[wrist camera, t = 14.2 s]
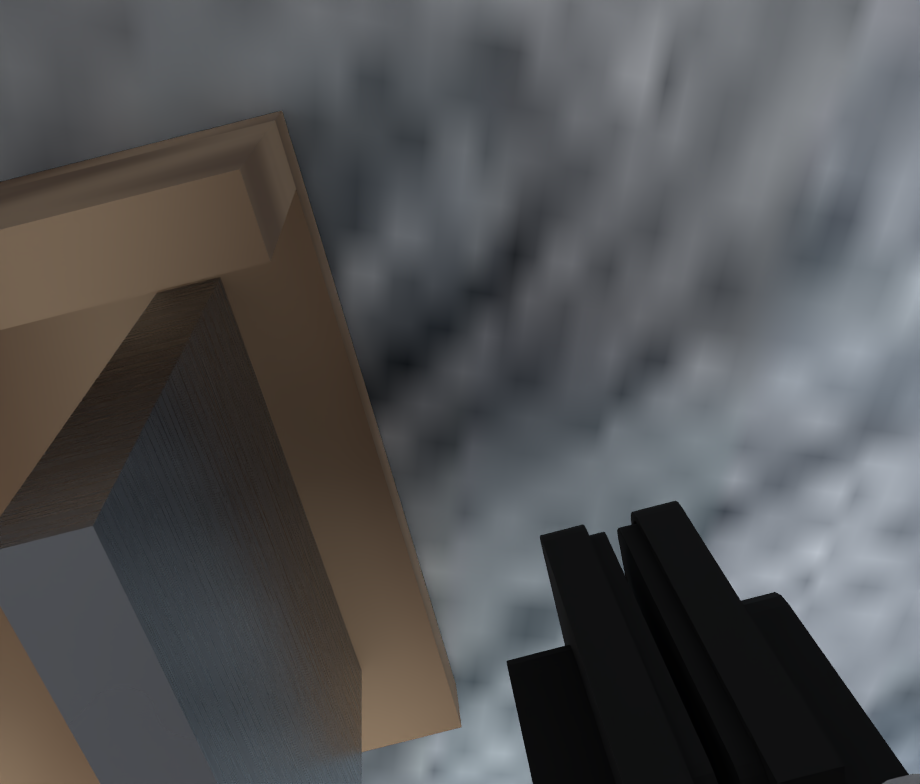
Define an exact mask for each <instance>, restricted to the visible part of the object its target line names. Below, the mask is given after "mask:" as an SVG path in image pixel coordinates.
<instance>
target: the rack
mask: <svg viewBox="0 0 920 784" xmlns="http://www.w3.org/2000/svg"><path fill="white" fill-rule="evenodd" d="M218 277H221V280H222V283H223V285H224V288H225V291H226V294H227V297H228V299H229V302H230V305H231V308H232V311H233V313H234V316H235V319H236V322H237V324H238V327H239V330H240V333H241V336H242V338H243V341H244V344H245V347H246V349H247V352H248V355H249V358H250V361H251V363H252V366H253V369H254V372H255V375H256V377H257V380H258V383H259V386H260V388H261V391H262V394H263V397H264V400H265V402H266V405H267V408H268V411H269V413H270V416H271V419H272V422H273V425H274V427H275V430H276V433H277V436H278V439H279V441H280V444H281V447H282V450H283V452H284V455H285V458H286V461H287V464H288V466H289V469H290V472H291V475H292V477H293V480H294V483H295V486H296V489H297V491H298V494H299V497H300V500H301V503H302V505H303V508H304V511H305V514H306V516H307V519H308V522H309V525H310V528H311V530H312V533H313V536H314V539H315V542H316V544H317V547H318V550H319V553H320V555H321V558H322V561H323V564H324V567H325V569H326V572H327V575H328V578H329V580H330V583H331V586H332V589H333V592H334V594H335V597H336V600H337V603H338V606H339V608H340V611H341V614H342V617H343V619H344V622H345V625H346V628H347V631H348V633H349V636H350V639H351V642H352V644H353V647H354V650H355V653H356V656H357V658H358V661H359V664H360V667H361V670H362V752H364V751H368V750H372V749H376V748H380V747H384V746H388V745H392V744H396V743H400V742H404V741H408V740H412V739H416V738H420V737H424V736H428V735H432V734H436V733H440V732H444V731H448V730H452V729H456V728H460V727H462V726H461V719H460V712H459V704H458V697H457V690H456V684H455V680H454V677H453V674H452V670H451V667H450V664H449V660H448V657H447V654H446V651H445V647H444V644H443V641H442V637H441V634H440V631H439V627H438V624H437V621H436V618H435V614H434V611H433V608H432V604H431V601H430V598H429V594H428V591H427V588H426V584H425V581H424V578H423V575H422V571H421V568H420V565H419V561H418V558H417V555H416V551H415V548H414V545H413V542H412V538H411V535H410V532H409V528H408V525H407V522H406V518H405V515H404V512H403V509H402V505H401V502H400V499H399V495H398V492H397V489H396V485H395V482H394V479H393V476H392V472H391V469H390V466H389V462H388V459H387V456H386V452H385V449H384V446H383V442H382V439H381V436H380V433H379V429H378V426H377V423H376V419H375V416H374V413H373V409H372V406H371V403H370V400H369V396H368V393H367V390H366V386H365V383H364V380H363V376H362V373H361V370H360V367H359V363H358V360H357V357H356V353H355V350H354V347H353V343H352V340H351V337H350V333H349V330H348V327H347V324H346V320H345V317H344V314H343V310H342V307H341V304H340V300H339V297H338V294H337V291H336V287H335V284H334V281H333V277H332V274H331V271H330V267H329V264H328V261H327V258H326V254H325V251H324V248H323V244H322V241H321V238H320V234H319V231H318V228H317V225H316V221H315V218H314V215H313V211H312V208H311V205H310V201H309V198H308V195H307V191H306V188H305V185H304V182H303V178H302V175H301V172H300V168H299V165H298V162H297V158H296V155H295V152H294V149H293V145H292V142H291V139H290V135H289V132H288V129H287V125H286V122H285V119H284V116H283V112H282V111H279V112H275V113H271V114H267V115H263V116H259V117H255V118H251V119H247V120H243V121H239V122H235V123H231V124H227V125H223V126H219V127H215V128H211V129H207V130H203V131H199V132H196V133H192V134H188V135H184V136H180V137H176V138H172V139H168V140H164V141H160V142H156V143H152V144H148V145H144V146H140V147H136V148H132V149H128V150H124V151H120V152H116V153H112V154H109V155H105V156H101V157H97V158H93V159H89V160H85V161H81V162H77V163H73V164H69V165H65V166H61V167H57V168H53V169H49V170H45V171H41V172H37V173H33V174H29V175H25V176H22V177H18V178H14V179H10V180H6V181H2V182H0V516H1V514H2V513H3V512H4V510H5V509H6V507H7V506H8V504H9V503H10V502H11V500H12V499H13V497H14V496H15V495H16V493H17V492H18V490H19V489H20V487H21V486H22V485H23V483H24V482H25V480H26V479H27V477H28V476H29V475H30V473H31V472H32V470H33V469H34V467H35V466H36V465H37V463H38V462H39V460H40V459H41V457H42V456H43V455H44V453H45V452H46V450H47V449H48V447H49V446H50V445H51V443H52V442H53V440H54V439H55V437H56V436H57V435H58V433H59V432H60V430H61V429H62V427H63V426H64V425H65V423H66V422H67V420H68V419H69V417H70V416H71V415H72V413H73V412H74V410H75V409H76V407H77V406H78V405H79V403H80V402H81V400H82V399H83V397H84V396H85V395H86V393H87V392H88V390H89V389H90V388H91V386H92V385H93V383H94V382H95V380H96V379H97V378H98V376H99V375H100V373H101V372H102V370H103V369H104V368H105V366H106V365H107V363H108V362H109V360H110V359H111V358H112V356H113V355H114V353H115V352H116V350H117V349H118V348H119V346H120V345H121V343H122V342H123V340H124V339H125V338H126V336H127V335H128V333H129V332H130V330H131V329H132V328H133V326H134V325H135V323H136V322H137V320H138V319H139V318H140V316H141V315H142V313H143V312H144V310H145V309H146V308H147V306H148V305H149V303H150V302H151V300H152V299H153V298H154V296H155V295H156V293H158V292H162V291H166V290H170V289H174V288H178V287H182V286H186V285H190V284H194V283H198V282H202V281H206V280H210V279H214V278H218ZM0 784H100V782H99V780H98V778H97V777H96V775H95V773H94V771H93V770H92V768H91V766H90V764H89V763H88V761H87V759H86V757H85V755H84V754H83V752H82V750H81V748H80V747H79V745H78V743H77V741H76V740H75V738H74V736H73V734H72V732H71V731H70V729H69V727H68V725H67V724H66V722H65V720H64V718H63V716H62V715H61V713H60V711H59V709H58V708H57V706H56V704H55V702H54V701H53V699H52V697H51V695H50V693H49V692H48V690H47V688H46V686H45V685H44V683H43V681H42V679H41V677H40V676H39V674H38V672H37V670H36V669H35V667H34V665H33V663H32V662H31V660H30V658H29V656H28V654H27V653H26V651H25V649H24V647H23V646H22V644H21V642H20V640H19V638H18V637H17V635H16V633H15V631H14V630H13V628H12V626H11V624H10V623H9V621H8V619H7V617H6V615H5V614H4V612H3V610H2V608H1V607H0Z"/></svg>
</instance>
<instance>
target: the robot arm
mask: <svg viewBox="0 0 920 784" xmlns="http://www.w3.org/2000/svg"><path fill="white" fill-rule="evenodd" d="M631 524H632V525H628V526H625V527H621V528H618V530H617V532H618V540H619V545H620V550H621V556H622V561H623V566H624V571H625V575H624V573H623V570H622V568H621V566H620V564H619V562H618V559H617V557H616V555H615V553H614V551H613V548H612V546H611V544H610V542H609V540H608V537H607V535H606V534H605V532H601V533H597V534H593V535H589V534H588V532H587V530H586V528H585V526H584V525H579V526H575V527H571V528H568V529H564V530H560V531H556V532H552V533H548V534H544V535H540V540H541V545H542V549H543V554H544V558H545V562H546V566H547V571H548V575H549V579H550V583H551V588H552V592H553V596H554V600H555V605H556V609H557V613H558V617H559V622H560V626H561V630H562V634H563V639H564V643H565V646H563V647H559V648H555V649H551V650H547V651H543V652H539V653H535V654H531V655H528V656H524V657H520V658H516V659H512V660H508V661H507V666H508V671H509V676H510V680H511V685H512V689H513V694H514V699H515V703H516V708H517V712H518V717H519V722H520V726H521V731H522V735H523V740H524V745H525V749H526V754H527V758H528V763H529V768H530V772H531V777H532V781H533V784H920V774H910V775H909V774H908V773H907V771H906V770H905V768H904V767H903V766H902V764H901V763H900V761H899V760H898V759H897V757H896V756H895V754H894V753H893V751H892V750H891V749H890V747H889V746H888V744H887V743H886V741H885V740H884V739H883V737H882V736H881V734H880V733H879V732H878V730H877V729H876V727H875V726H874V724H873V723H872V722H871V720H870V719H869V717H868V716H867V715H866V713H865V712H864V710H863V709H862V707H861V706H860V705H859V703H858V702H857V700H856V699H855V698H854V696H853V695H852V693H851V692H850V690H849V689H848V688H847V686H846V685H845V683H844V682H843V681H842V679H841V678H840V676H839V675H838V673H837V672H836V671H835V669H834V668H833V666H832V665H831V663H830V662H829V661H828V659H827V658H826V656H825V655H824V654H823V652H822V651H821V649H820V648H819V646H818V645H817V644H816V642H815V641H814V639H813V638H812V637H811V635H810V634H809V632H808V631H807V629H806V628H805V627H804V625H803V624H802V622H801V621H800V620H799V618H798V617H797V615H796V614H795V612H794V611H793V610H792V608H791V607H790V605H789V604H788V603H787V602H786V600H785V599H784V598H783V597H782V596H781V595H780V594H778V593H776V592H773V593H769V594H765V595H762V596H758V597H754V598H750V599H746V600H742V601H740V599H739V597H738V596H737V594H736V593H735V591H734V589H733V588H732V586H731V585H730V583H729V581H728V580H727V578H726V577H725V575H724V574H723V572H722V570H721V569H720V567H719V566H718V564H717V562H716V561H715V559H714V558H713V556H712V554H711V553H710V551H709V550H708V548H707V546H706V545H705V543H704V542H703V540H702V539H701V537H700V535H699V534H698V532H697V531H696V529H695V527H694V526H693V524H692V523H691V521H690V519H689V518H688V516H687V515H686V513H685V512H684V510H683V508H682V507H681V505H680V504H679V503H678V502H677V501H673V502H669V503H665V504H661V505H657V506H653V507H649V508H645V509H641V510H638V511H634V512H632V513H631Z"/></svg>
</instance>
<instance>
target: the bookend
mask: <svg viewBox="0 0 920 784" xmlns="http://www.w3.org/2000/svg"><path fill="white" fill-rule="evenodd" d="M0 607H1V608H2V610H3V612H4V614H5V615H6V617H7V619H8V621H9V623H10V624H11V626H12V628H13V630H14V631H15V633H16V635H17V637H18V638H19V640H20V642H21V644H22V646H23V647H24V649H25V651H26V653H27V654H28V656H29V658H30V660H31V662H32V663H33V665H34V667H35V669H36V670H37V672H38V674H39V676H40V677H41V679H42V681H43V683H44V685H45V686H46V688H47V690H48V692H49V693H50V695H51V697H52V699H53V701H54V702H55V704H56V706H57V708H58V709H59V711H60V713H61V715H62V716H63V718H64V720H65V722H66V724H67V725H68V727H69V729H70V731H71V732H72V734H73V736H74V738H75V740H76V741H77V743H78V745H79V747H80V748H81V750H82V752H83V754H84V755H85V757H86V759H87V761H88V763H89V764H90V766H91V768H92V770H93V771H94V773H95V775H96V777H97V778H98V780H99V782H100V784H362V670H361V667H360V664H359V661H358V658H357V656H356V653H355V650H354V647H353V644H352V642H351V639H350V636H349V633H348V631H347V628H346V625H345V622H344V619H343V617H342V614H341V611H340V608H339V606H338V603H337V600H336V597H335V594H334V592H333V589H332V586H331V583H330V580H329V578H328V575H327V572H326V569H325V567H324V564H323V561H322V558H321V555H320V553H319V550H318V547H317V544H316V542H315V539H314V536H313V533H312V530H311V528H310V525H309V522H308V519H307V516H306V514H305V511H304V508H303V505H302V503H301V500H300V497H299V494H298V491H297V489H296V486H295V483H294V480H293V477H292V475H291V472H290V469H289V466H288V464H287V461H286V458H285V455H284V452H283V450H282V447H281V444H280V441H279V439H278V436H277V433H276V430H275V427H274V425H273V422H272V419H271V416H270V413H269V411H268V408H267V405H266V402H265V400H264V397H263V394H262V391H261V388H260V386H259V383H258V380H257V377H256V375H255V372H254V369H253V366H252V363H251V361H250V358H249V355H248V352H247V349H246V347H245V344H244V341H243V338H242V336H241V333H240V330H239V327H238V324H237V322H236V319H235V316H234V313H233V311H232V308H231V305H230V302H229V299H228V297H227V294H226V291H225V288H224V285H223V283H222V280H221V277H218V278H214V279H210V280H206V281H202V282H198V283H194V284H190V285H186V286H182V287H178V288H174V289H170V290H166V291H162V292H158V293H156V295H155V296H154V298H153V299H152V300H151V302H150V303H149V305H148V306H147V308H146V309H145V310H144V312H143V313H142V315H141V316H140V318H139V319H138V320H137V322H136V323H135V325H134V326H133V328H132V329H131V330H130V332H129V333H128V335H127V336H126V338H125V339H124V340H123V342H122V343H121V345H120V346H119V348H118V349H117V350H116V352H115V353H114V355H113V356H112V358H111V359H110V360H109V362H108V363H107V365H106V366H105V368H104V369H103V370H102V372H101V373H100V375H99V376H98V378H97V379H96V380H95V382H94V383H93V385H92V386H91V388H90V389H89V390H88V392H87V393H86V395H85V396H84V397H83V399H82V400H81V402H80V403H79V405H78V406H77V407H76V409H75V410H74V412H73V413H72V415H71V416H70V417H69V419H68V420H67V422H66V423H65V425H64V426H63V427H62V429H61V430H60V432H59V433H58V435H57V436H56V437H55V439H54V440H53V442H52V443H51V445H50V446H49V447H48V449H47V450H46V452H45V453H44V455H43V456H42V457H41V459H40V460H39V462H38V463H37V465H36V466H35V467H34V469H33V470H32V472H31V473H30V475H29V476H28V477H27V479H26V480H25V482H24V483H23V485H22V486H21V487H20V489H19V490H18V492H17V493H16V495H15V496H14V497H13V499H12V500H11V502H10V503H9V504H8V506H7V507H6V509H5V510H4V512H3V513H2V514H1V516H0Z"/></svg>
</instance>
